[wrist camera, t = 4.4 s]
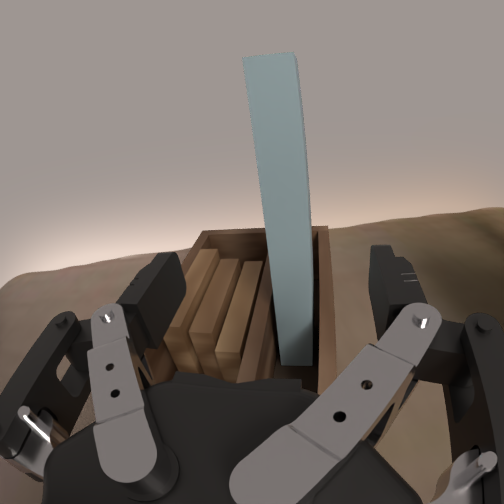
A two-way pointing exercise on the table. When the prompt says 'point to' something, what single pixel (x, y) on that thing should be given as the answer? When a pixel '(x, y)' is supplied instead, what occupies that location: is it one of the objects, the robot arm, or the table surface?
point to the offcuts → (214, 316)
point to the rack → (264, 306)
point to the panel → (284, 197)
